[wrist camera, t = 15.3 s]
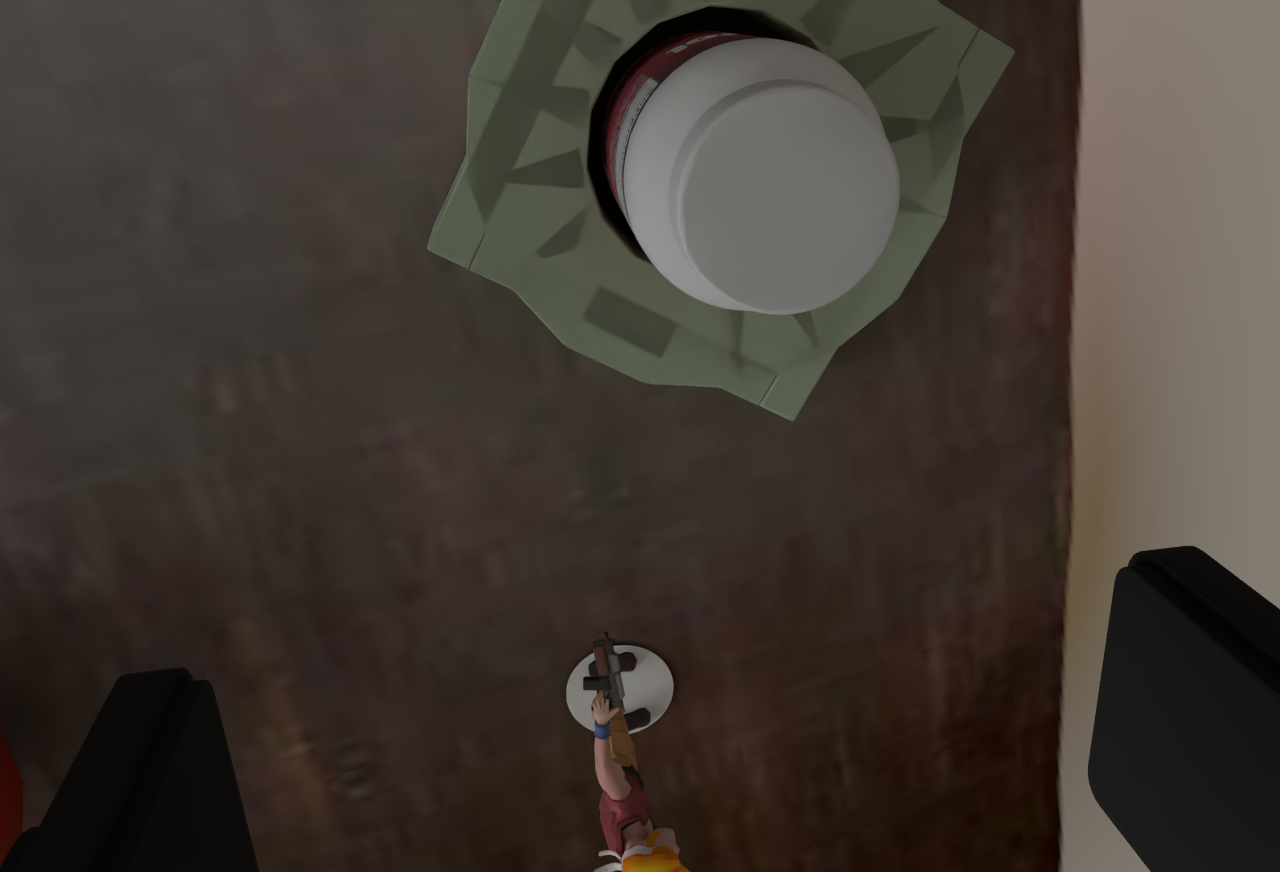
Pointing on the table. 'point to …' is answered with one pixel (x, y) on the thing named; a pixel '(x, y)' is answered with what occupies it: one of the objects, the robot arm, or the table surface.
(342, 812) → the table surface
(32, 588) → the table surface
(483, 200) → the base pad
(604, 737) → the action figure
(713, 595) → the table surface
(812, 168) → the pill bottle
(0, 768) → the apple
